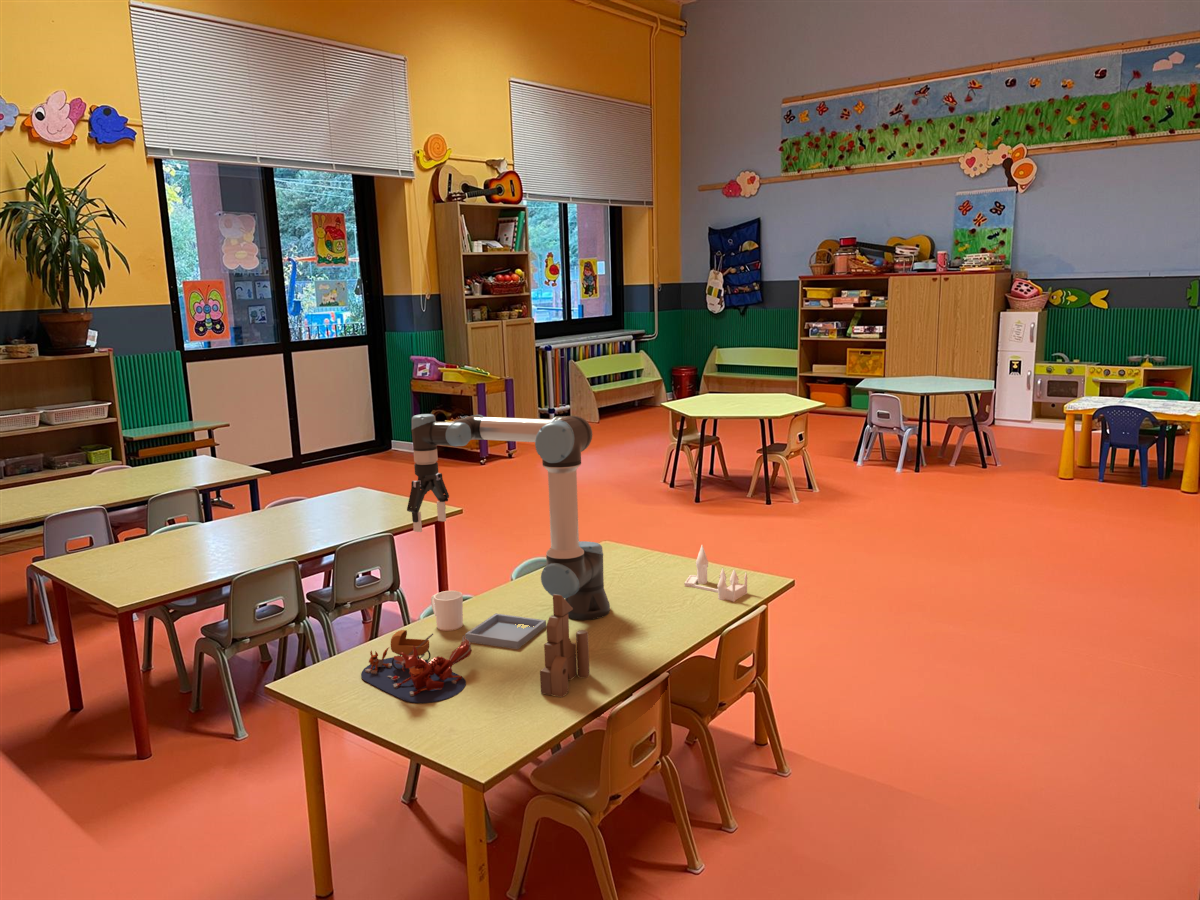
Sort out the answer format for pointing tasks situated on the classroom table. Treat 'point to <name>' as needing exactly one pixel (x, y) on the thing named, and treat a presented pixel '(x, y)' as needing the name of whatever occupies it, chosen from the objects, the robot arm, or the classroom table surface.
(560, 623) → the wooden toy
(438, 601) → the mug
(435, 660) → the toy playset
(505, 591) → the classroom table surface
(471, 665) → the classroom table surface
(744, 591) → the toy castle
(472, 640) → the tray
